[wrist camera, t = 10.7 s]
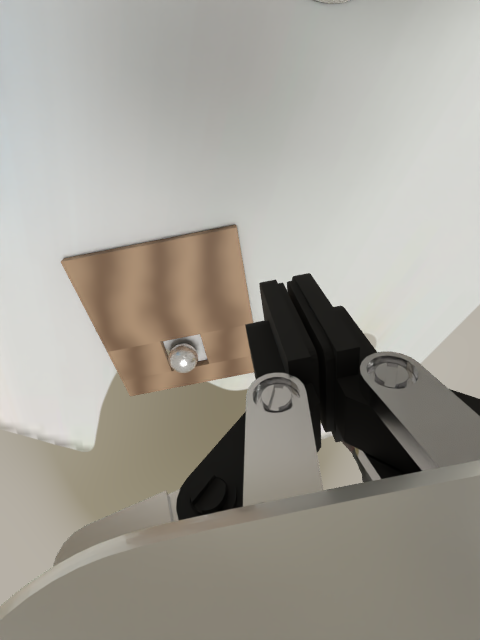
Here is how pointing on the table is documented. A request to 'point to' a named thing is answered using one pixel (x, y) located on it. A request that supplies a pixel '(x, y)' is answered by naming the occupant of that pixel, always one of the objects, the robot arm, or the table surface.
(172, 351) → the steel ball
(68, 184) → the table surface
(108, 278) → the walnut board
